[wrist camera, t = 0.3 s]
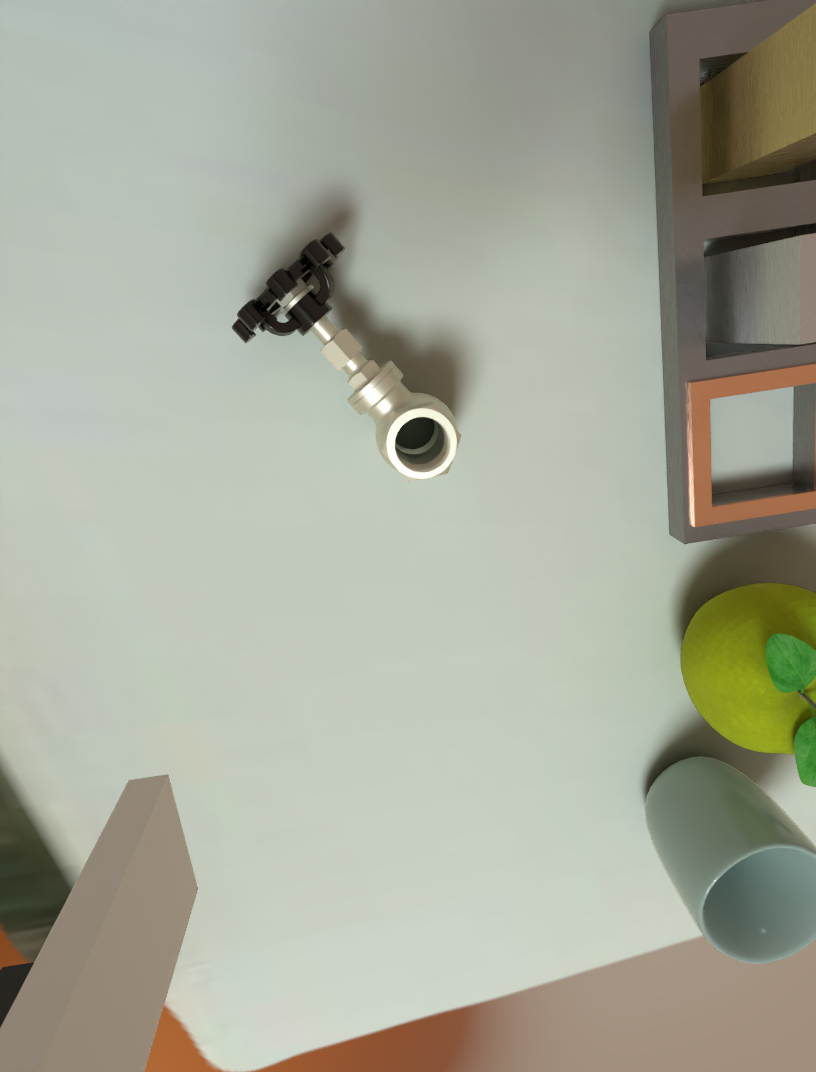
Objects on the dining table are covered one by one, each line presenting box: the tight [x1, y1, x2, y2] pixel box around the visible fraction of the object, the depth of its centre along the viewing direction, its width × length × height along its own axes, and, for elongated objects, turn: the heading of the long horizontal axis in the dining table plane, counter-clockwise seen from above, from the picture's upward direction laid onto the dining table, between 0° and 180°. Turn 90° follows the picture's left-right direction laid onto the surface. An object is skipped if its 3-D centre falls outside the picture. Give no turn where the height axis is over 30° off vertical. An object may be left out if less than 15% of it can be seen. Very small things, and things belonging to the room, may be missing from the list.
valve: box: [232, 232, 461, 481], centre depth 35 cm, size 7×7×12 cm
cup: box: [645, 756, 816, 964], centre depth 42 cm, size 8×8×10 cm
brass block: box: [700, 3, 816, 184], centre depth 31 cm, size 4×4×11 cm
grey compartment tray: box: [650, 0, 816, 544], centre depth 37 cm, size 26×9×2 cm, turn 8°
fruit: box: [681, 583, 816, 787], centre depth 39 cm, size 9×9×10 cm
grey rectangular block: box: [704, 233, 816, 345], centre depth 34 cm, size 4×4×9 cm
